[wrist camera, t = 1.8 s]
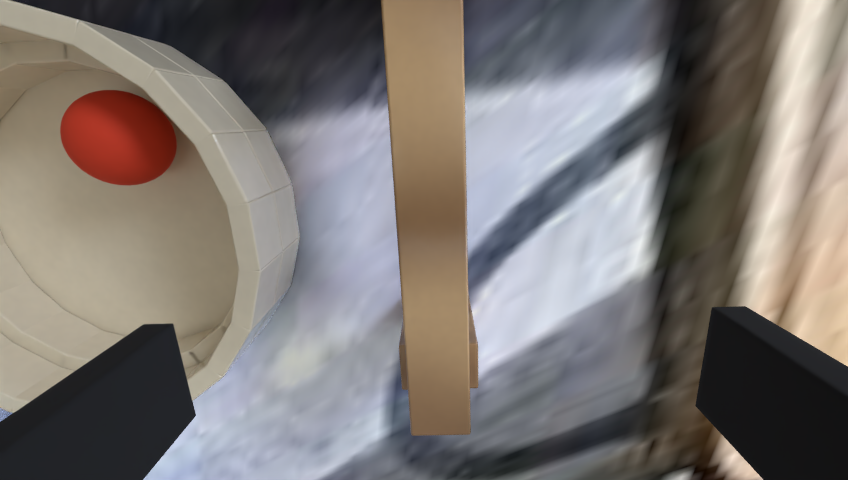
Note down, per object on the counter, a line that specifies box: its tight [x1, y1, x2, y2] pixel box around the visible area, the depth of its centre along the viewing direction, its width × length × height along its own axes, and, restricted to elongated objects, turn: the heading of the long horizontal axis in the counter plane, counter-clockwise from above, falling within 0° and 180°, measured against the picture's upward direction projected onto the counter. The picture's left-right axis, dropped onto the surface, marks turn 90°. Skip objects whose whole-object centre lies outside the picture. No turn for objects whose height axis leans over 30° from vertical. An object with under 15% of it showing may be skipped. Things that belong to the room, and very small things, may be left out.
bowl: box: [0, 0, 300, 413], centre depth 17 cm, size 16×16×5 cm
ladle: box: [381, 0, 478, 435], centre depth 14 cm, size 22×6×7 cm, turn 3°
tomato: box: [60, 90, 177, 186], centre depth 16 cm, size 4×4×4 cm
